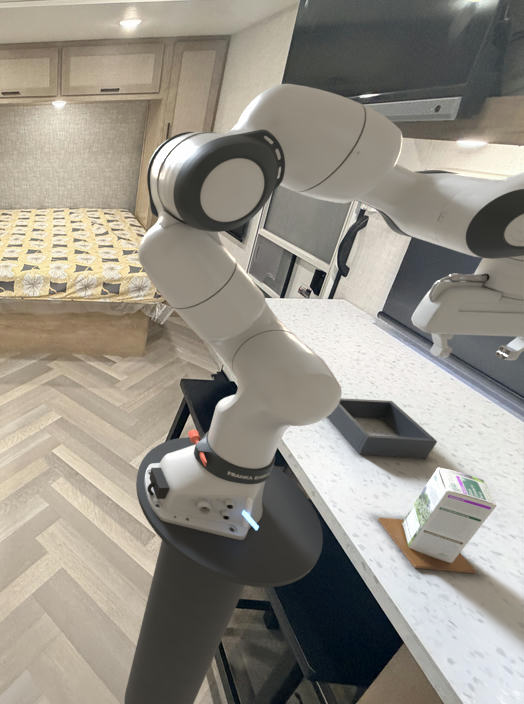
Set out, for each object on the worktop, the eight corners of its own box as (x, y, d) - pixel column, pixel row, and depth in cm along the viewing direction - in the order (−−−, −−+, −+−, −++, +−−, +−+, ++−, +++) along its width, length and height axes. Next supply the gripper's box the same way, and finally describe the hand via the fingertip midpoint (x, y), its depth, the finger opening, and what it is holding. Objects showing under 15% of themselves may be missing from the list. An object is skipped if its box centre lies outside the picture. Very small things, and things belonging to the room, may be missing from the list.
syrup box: (452, 565, 65) (501, 506, 58) (406, 548, 68) (447, 490, 61) (442, 537, 69) (487, 479, 62) (399, 521, 72) (437, 465, 65)
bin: (358, 454, 87) (367, 437, 85) (324, 413, 99) (331, 397, 97) (426, 458, 86) (437, 441, 83) (383, 416, 98) (391, 400, 95)
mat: (414, 568, 65) (415, 565, 65) (377, 519, 73) (378, 517, 73) (474, 573, 64) (476, 571, 64) (430, 523, 72) (432, 521, 72)
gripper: (458, 281, 55) (413, 364, 62) (630, 285, 53) (564, 371, 59) (423, 266, 61) (386, 343, 67) (577, 269, 58) (523, 349, 65)
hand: (471, 356), depth 63 cm, fingers open, 8 cm apart
